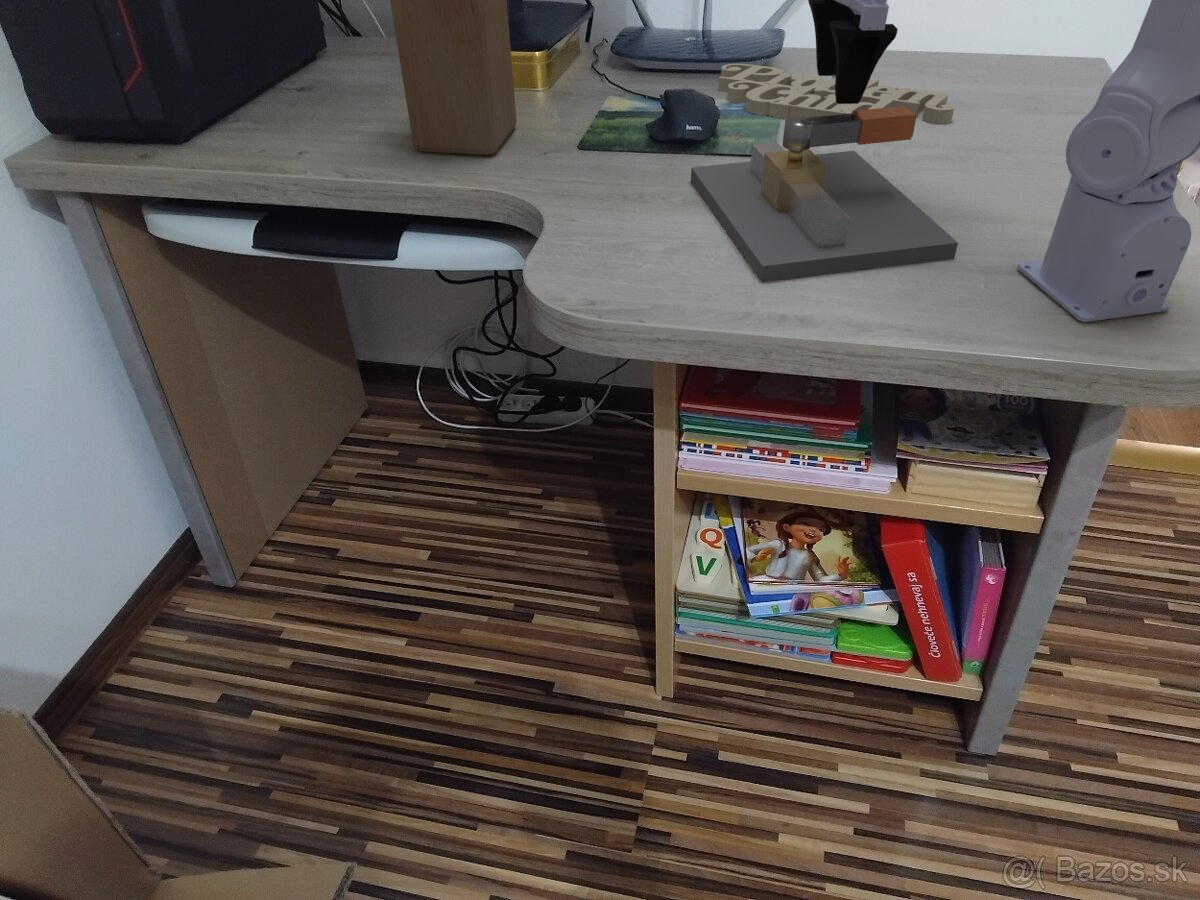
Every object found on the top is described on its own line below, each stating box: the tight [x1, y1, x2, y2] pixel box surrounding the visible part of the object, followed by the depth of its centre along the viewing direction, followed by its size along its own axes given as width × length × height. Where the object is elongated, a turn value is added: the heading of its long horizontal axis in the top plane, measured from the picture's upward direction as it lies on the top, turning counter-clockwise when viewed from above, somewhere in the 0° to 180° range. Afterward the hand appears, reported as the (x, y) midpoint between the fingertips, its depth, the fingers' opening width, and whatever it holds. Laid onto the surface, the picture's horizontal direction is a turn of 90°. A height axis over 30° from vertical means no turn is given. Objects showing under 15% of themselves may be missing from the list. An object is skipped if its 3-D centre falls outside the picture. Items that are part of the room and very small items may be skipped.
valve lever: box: [782, 106, 918, 151], centre depth 82 cm, size 12×3×2 cm, turn 101°
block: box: [389, 0, 517, 156], centre depth 97 cm, size 10×10×20 cm
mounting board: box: [690, 150, 959, 283], centre depth 85 cm, size 22×18×2 cm
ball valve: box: [750, 141, 850, 248], centre depth 83 cm, size 18×4×5 cm, turn 11°
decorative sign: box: [717, 63, 955, 125], centre depth 109 cm, size 31×2×15 cm
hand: (837, 88), depth 85 cm, fingers open, 7 cm apart
